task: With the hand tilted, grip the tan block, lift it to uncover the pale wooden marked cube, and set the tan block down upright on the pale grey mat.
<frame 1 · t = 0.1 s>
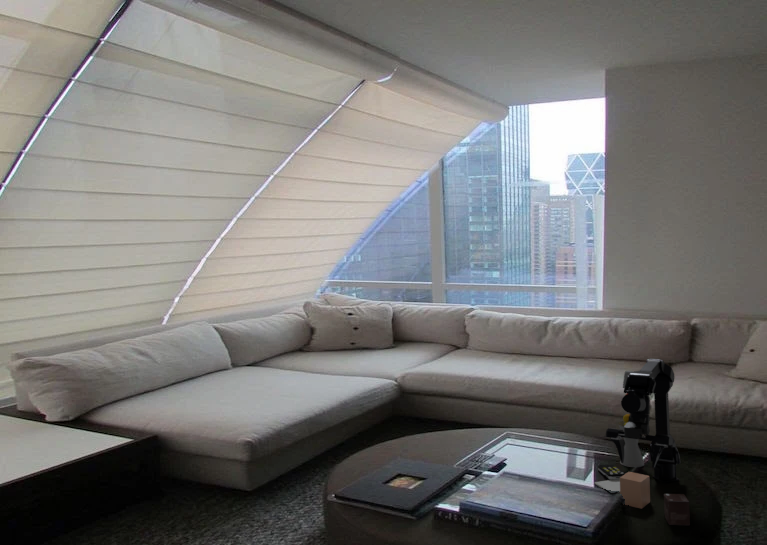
hand: (637, 465, 202), 15 cm above the table, tool pointing down, fingers open, 9 cm apart
mat: (615, 486, 226), on the table
box: (677, 522, 197), on the table
lava lamp: (632, 463, 248), on the table
tan block: (635, 502, 212), on the table
marked cube: (635, 503, 212), on the table
remote control: (611, 474, 237), on the table, touching mat
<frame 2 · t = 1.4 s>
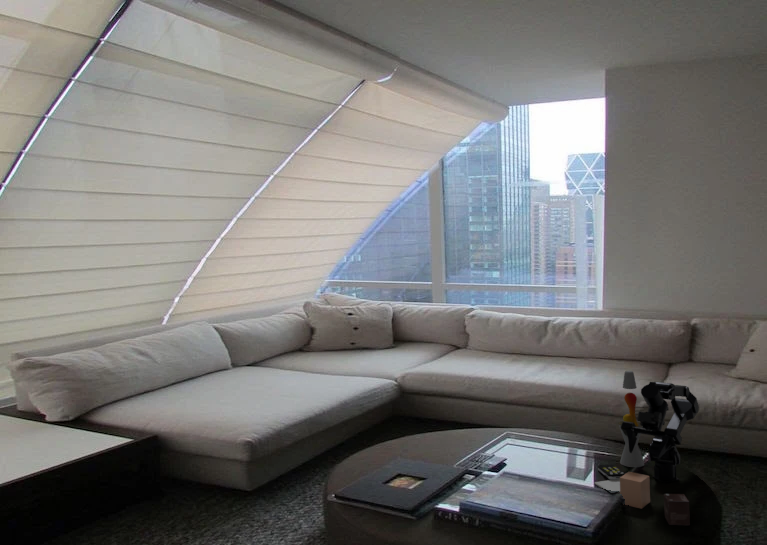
hand: (643, 455, 217), 13 cm above the table, tool tilted 45°, fingers open, 9 cm apart
nothing on the table moved.
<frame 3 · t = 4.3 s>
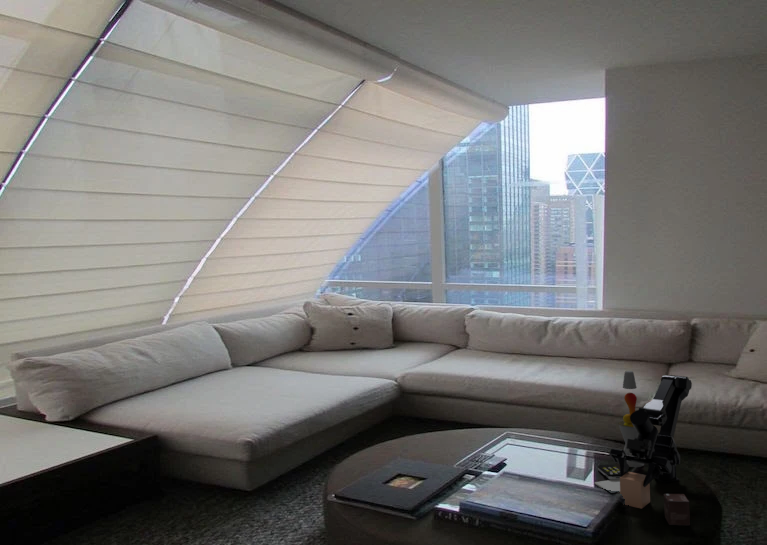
hand: (632, 483, 210), 7 cm above the table, tool tilted 45°, fingers closed on tan block, 7 cm apart
tan block: (635, 502, 212), on the table, touching gripper
everything else where it was.
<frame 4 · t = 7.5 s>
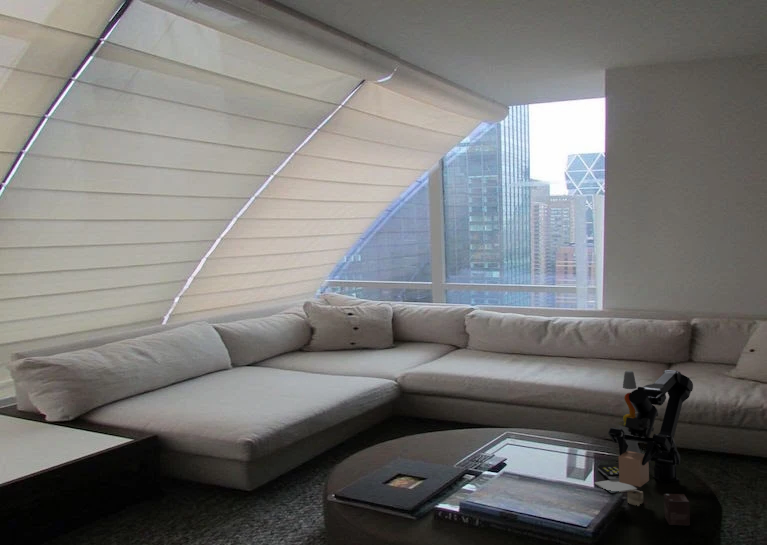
hand: (631, 462, 210), 13 cm above the table, tool tilted 45°, fingers closed on tan block, 7 cm apart
tan block: (634, 481, 212), point 7 cm above the table, touching gripper
everything else where it was.
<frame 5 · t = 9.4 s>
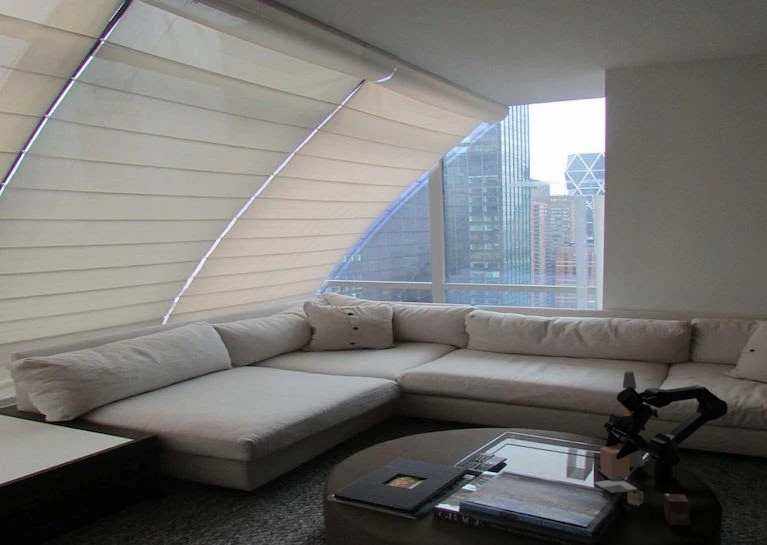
hand: (610, 455, 225), 11 cm above the table, tool tilted 45°, fingers closed on tan block, 7 cm apart
tan block: (615, 473, 226), point 5 cm above the table, touching gripper
everything else where it was.
when the fingers open (8 cm above the table, at t = 10.9 s): tan block drops 1 cm, resting on mat.
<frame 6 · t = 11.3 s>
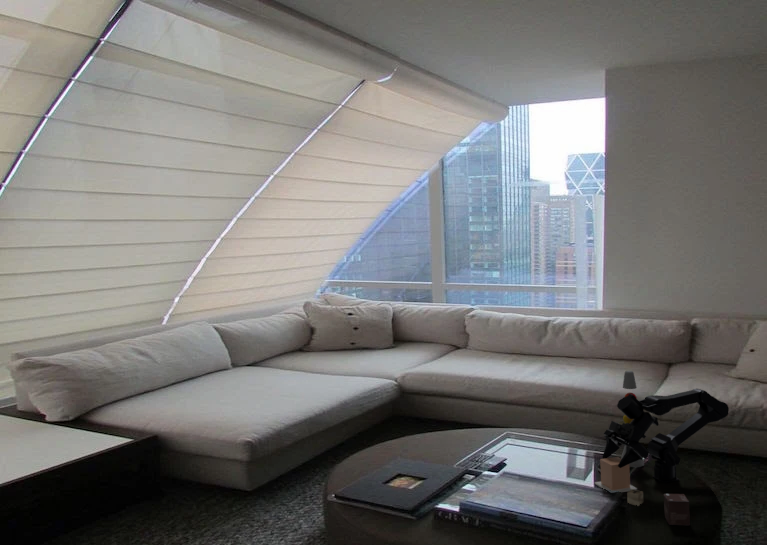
hand: (611, 462, 225), 9 cm above the table, tool tilted 45°, fingers open, 9 cm apart
tan block: (615, 485, 226), resting on mat
everything else where it was.
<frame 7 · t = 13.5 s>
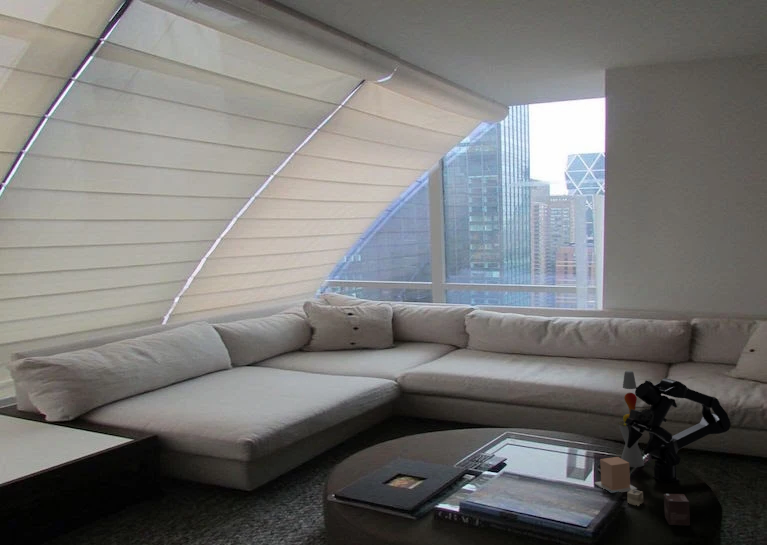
hand: (636, 450, 226), 12 cm above the table, tool tilted 35°, fingers open, 9 cm apart
nothing on the table moved.
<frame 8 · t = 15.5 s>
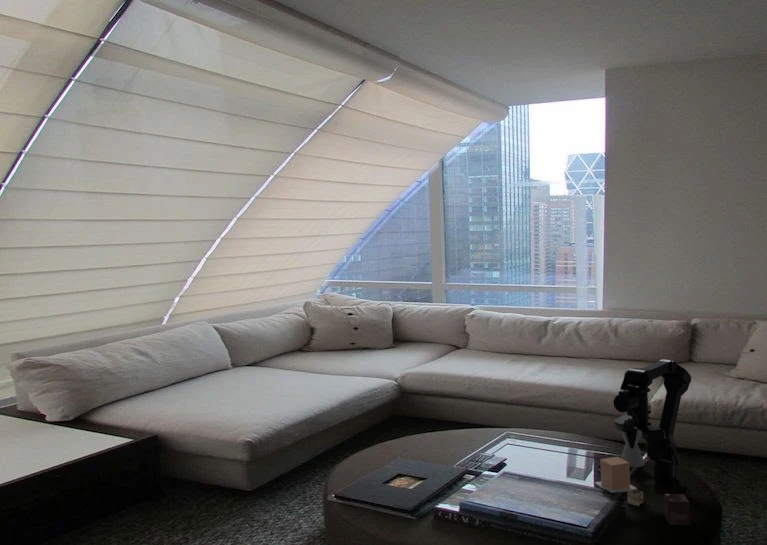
hand: (640, 452, 221), 13 cm above the table, tool pointing down, fingers open, 9 cm apart
nothing on the table moved.
at the end: tan block inside the target area on the mat (0.0 cm from its centre), point 0.5 cm above the mat's base; tan block tilted 0°; the gripper is holding nothing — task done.
